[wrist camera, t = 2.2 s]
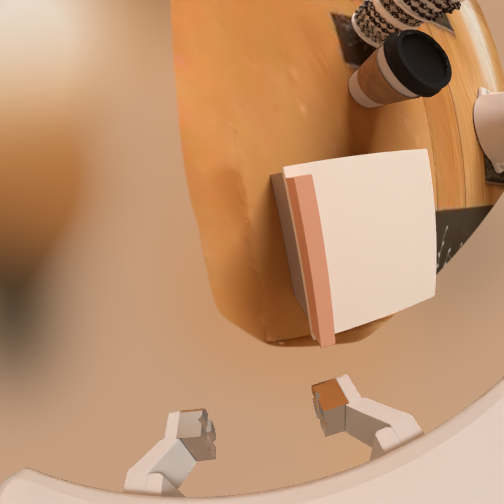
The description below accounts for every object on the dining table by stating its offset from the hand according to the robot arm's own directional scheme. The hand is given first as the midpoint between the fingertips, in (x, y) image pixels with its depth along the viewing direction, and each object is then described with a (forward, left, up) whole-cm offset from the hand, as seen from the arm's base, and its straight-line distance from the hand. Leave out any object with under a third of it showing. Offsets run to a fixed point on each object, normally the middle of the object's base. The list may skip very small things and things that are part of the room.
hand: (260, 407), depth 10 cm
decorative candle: (-29, -31, -27) cm, 51 cm away
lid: (-14, 0, -17) cm, 22 cm away
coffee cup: (-23, -19, -27) cm, 41 cm away
